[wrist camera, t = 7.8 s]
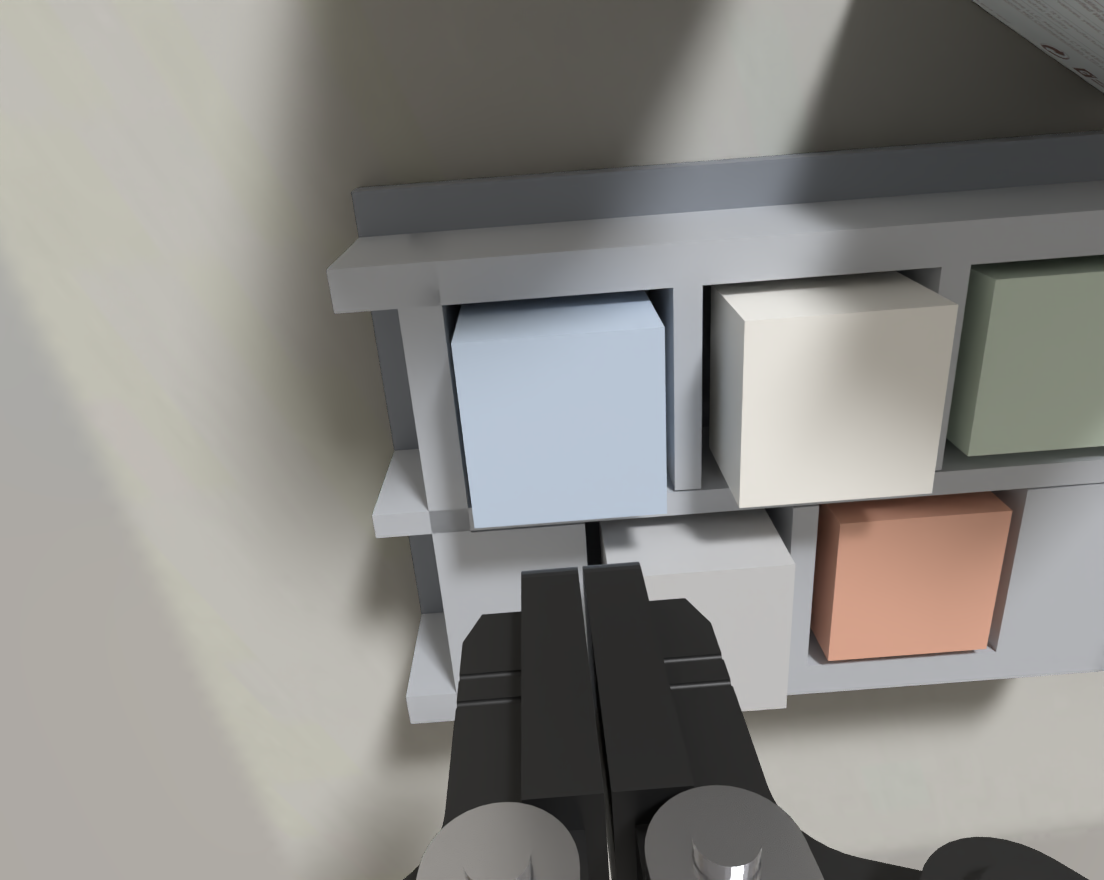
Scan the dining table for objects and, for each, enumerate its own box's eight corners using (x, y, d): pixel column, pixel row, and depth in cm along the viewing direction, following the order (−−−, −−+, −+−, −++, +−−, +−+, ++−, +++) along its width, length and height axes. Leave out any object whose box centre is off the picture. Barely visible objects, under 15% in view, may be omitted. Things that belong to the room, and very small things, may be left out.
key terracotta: (950, 455, 21) (1012, 510, 19) (931, 580, 23) (986, 648, 20) (800, 466, 21) (840, 524, 19) (792, 591, 23) (827, 661, 20)
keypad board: (1179, 124, 20) (1342, 137, 16) (1068, 600, 25) (1166, 696, 22) (357, 187, 20) (315, 216, 16) (433, 649, 25) (416, 754, 22)
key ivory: (892, 269, 18) (958, 305, 15) (874, 434, 19) (932, 493, 17) (711, 283, 18) (744, 321, 15) (709, 447, 19) (739, 508, 17)
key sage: (1097, 237, 19) (1191, 264, 16) (1064, 394, 21) (1145, 442, 18) (929, 250, 19) (995, 279, 16) (909, 405, 21) (967, 456, 18)
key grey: (758, 497, 20) (795, 564, 17) (753, 628, 22) (786, 708, 19) (598, 510, 20) (610, 578, 17) (605, 639, 22) (616, 720, 19)
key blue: (643, 288, 18) (664, 327, 15) (647, 452, 19) (667, 513, 17) (462, 302, 18) (450, 343, 15) (481, 464, 19) (474, 528, 17)
